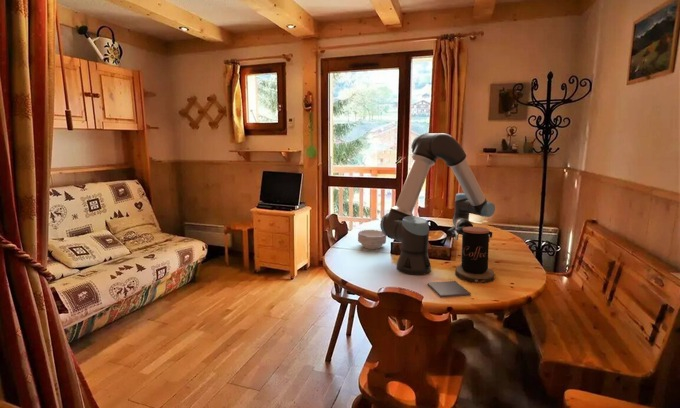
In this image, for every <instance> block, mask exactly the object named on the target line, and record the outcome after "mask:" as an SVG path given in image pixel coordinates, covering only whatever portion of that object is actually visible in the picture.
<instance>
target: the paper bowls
mask: <svg viewBox="0 0 680 408" xmlns="http://www.w3.org/2000/svg"><path fill="white" fill-rule="evenodd" d="M357 234H358V235H357V236H358V237H357V241H358V243H360V244H361V246H362V247H363V248H365V249H367V250H378V249H380V248H382V246H383V245H385V244H386V242H387V236H386V235H384V234H383V232H382V230H377V229H376V230H375V229H363V230H360V231H358V233H357Z"/></svg>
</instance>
